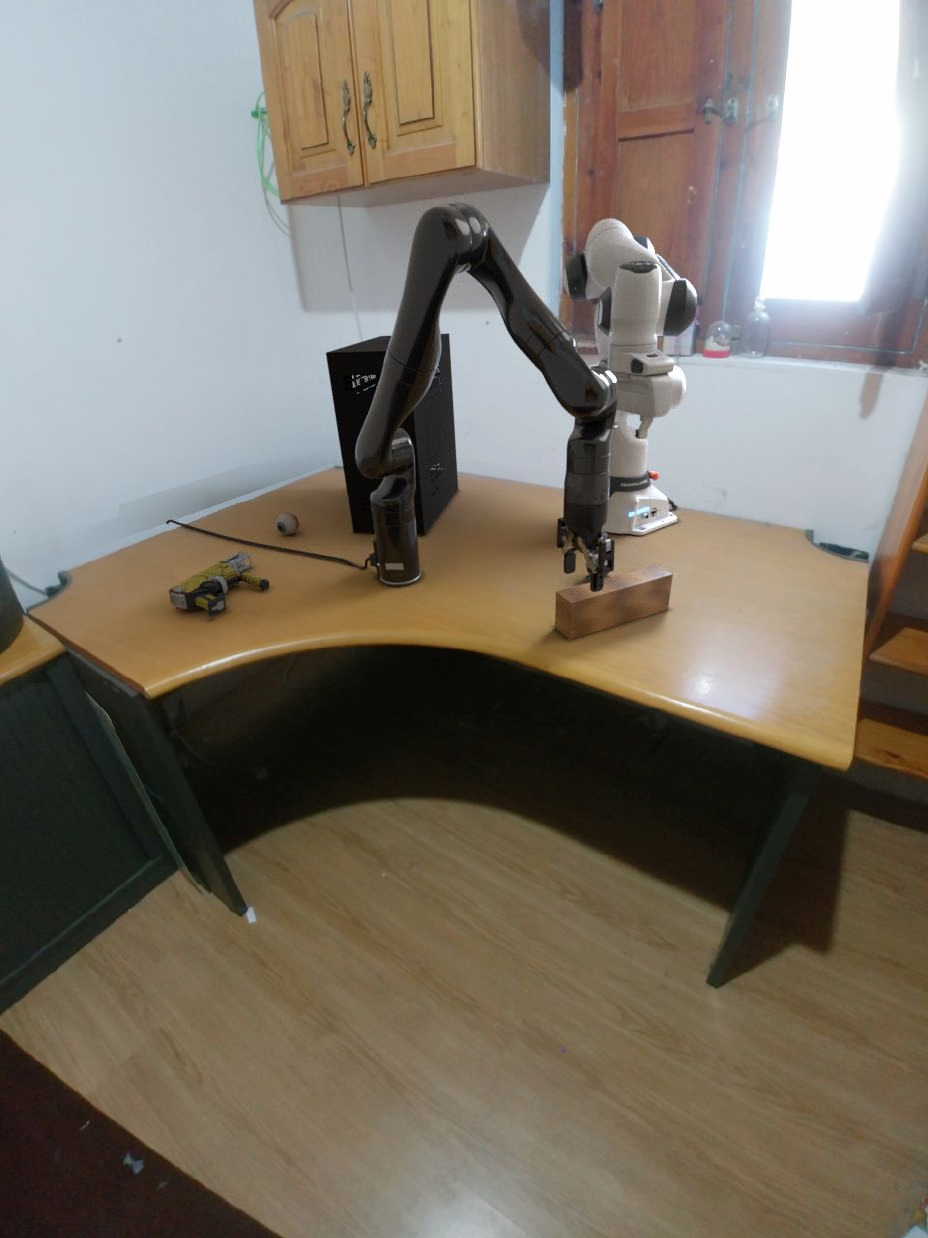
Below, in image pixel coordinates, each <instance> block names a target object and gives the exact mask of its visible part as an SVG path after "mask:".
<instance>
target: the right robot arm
mask: <svg viewBox="0 0 928 1238" xmlns="http://www.w3.org/2000/svg"><path fill="white" fill-rule="evenodd" d="M562 282H563V286H564V287H563V288H564V290H565V291H566V292H565V293H566V294H567V295H568V296H569V299H571V300H572V301H573V302H577V303H578V302H579V303H581V302H586V301H587V300H591V299H598V302H597V304H596V306H595V310H594V319H593V320H594V335H595V341H596V347H597V352H598V357H599V362H598V364H597V366H603V367H606V368H608V369H609V370H611V371H612V372H613V374H614V375H615V377H616V379H617V382H618V390H619V394H618V405H617V411H616V416H615V421H614V426H613V430H612V435H611V440H610V464H609V477H610V489H609V505H608V520H607V522H606V523H605V524H604V526H603V527H602V529H603V530H602V531H604V532H606V533H611V534H623V535H625V534H626V535H632V536H633V535H634V536H645V535H646V534H650V533H652V532H654V531H657V530H660V529H662V528H665V527H668V526H670V525H672V524H675V523H677V522H678V516H677V515H676V514H675V513H674V512H672V511H670V506H671V508H672V509H674V510H676V509H678V505H677V504H675V502H674V501H673V500H671V499H670V498H669V497H667V496H666V495H665V494H664V493H663V492H661V491H660V490H659V489H658V488H656V487H655V486H654V485H652V483H651V480H653V481H658V479H659V478H660V473H659V472H657V471H654V470H651V471H649V470H648V469H647V466H648V458H649V457H648V455H649V446H650V443H649V440H648V431H649V429H650V427H651V426H652V424H653V422H654V419H657V418H664V417H666V416H667V415H668V414H669V412H670V411H672V410H675V409H676V408H678V407H679V406H680V405H681V403H682V401H683V400H684V398H685V396H686V392H687V379H686V376H685V374H684V372H683V370H682V369H681V368H680V367H679V366H676V365H675V364H676V363H675V360H674V359H673V358H672V357H670V356H668V355H667V354H665V353H664V352H662V351H661V350H660V348H658V342H659V341H658V337H675V338H677V337H679V336H680V335H681V334H683V333H684V332H685V331H686V330H687V329H688V328H689V327H690V326H691V325H692V323H693V322H694V321H695V318H696V315H697V310H698V309H697V307H698V297H697V292H696V289H695V288H694V286H693V284H691V282H690V281H689V280H688V279H687V278H685V277H683V278H681V277H680V276H679V275H678V274H677V273H676V271H674V269H673V268H672V267H671V266H670V265H669V264H668V262H667V261H666V260H665V259H664V258H663V257H662V256H661V255H660V254H658V253H656V252H655V248H654V246H653V244H652V243H651V240H650V238H648V237H647V235H634V236H633V234H632V232H631V231H630V230H629V228H628V227H627V226H626V225H625V224H624V223H623V222H622V221H620V220H618V219H617V218H611V217H610V218H609V217H608V218H604V219H601V220H599V221H597V222H596V223H595V224H594V225H593V226H592V228H591V229H590V230H589V233H588V235H587V237H586V240H585V249H584V250H583V251H579V250H577V251H576V252H575V254H574V255H573V256H570V257H569V258H568V259H567V261H566V263H565V264H564V270H563V276H562ZM634 415H637V416H639V422H640V425H639V427H638V428H633V427H631V426H629V425H628V422H627V420H628V417H629V416H634Z"/></svg>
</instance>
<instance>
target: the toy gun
mask: <svg viewBox="0 0 928 1238" xmlns="http://www.w3.org/2000/svg"><path fill="white" fill-rule="evenodd" d="M248 559H249V563H248V564H247V563H245V561H247V560H248ZM251 562H252V561H251V555H250V554H249V553H248V552H246V551H245V552H244V553H243V551H238V552H237V553H234V554H232V555H231V556H229V557H227V558H225V559H224V560H220V561H218V562H216V563H215V564H213V565H211V566H209V567H207V568H206V569H204V570H202V571H200V572H198V573H196V574H195V575H192V576H191V577H189V578H187V579H186V580H183V581H181V582H180V583H178V584H176V585H174V586H173V587H170V588H169V589H168V594H169V599H170V603H171V605H172V606H173V607H174V608H175V610H179V611H184V610H187V611H189V610H195V609H199V608H202V609H205V610H206V611H208V616H209V617H214V616H216V615H218V614H220V613H223V611H225V610H227V603H226V597H225V595H226V594H227V593H228V591H229V588H231V587H233V586H236V585H238V584H239V583H241V582H242V583H245V584H247V585H250V586H252V587H255V588H258V589H260V590H261V591H266V590H268V589H269V588H270V581H269V579H267V578H262V577H260V576H257V575H254V574H251V573H249V572H247V571H246V572H244V571H245V570H246V569H248V568H251V567H252V563H251ZM242 572H243V573H242ZM240 573H242V574H241V575H240Z"/></svg>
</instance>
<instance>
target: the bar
mask: <svg viewBox="0 0 928 1238" xmlns="http://www.w3.org/2000/svg"><path fill="white" fill-rule="evenodd" d="M673 575H674V574H673V573H671V572H670V571H668V570H666V569H665V568H662V567H660V566H659V565H658V564H657V565H656V564H652V565H648V566H645V567H641V568H638V569H634V570H631V571H627V572H623V573H619V574H616V575H612V576H609V577H608V578H604V583H603V584H604V586H603V589H602V590H601V591H597V592H592V591H591V590H590V583H589V582H586V583H582V584H579V585H575V586H572V587H568V588H564V589H561V590H557V591H555V608H554V609H555V610H554V611H555V612H554V613H555V615H554V628H555V629H556V630H557V631H558V632H559V633H560V634H562V635H563V636H564V637H566V638H567V639H568V640H569V641H570V640H574V639H577V638H581V637H585V636H586V635H590V634H593V633H597V632H600V631H604V630H607V629H610V628H614V627H616V626H620V625H622V624H623V625H624V624H626V623H629V622H632V621H635V620H639V619H642V618H644V617H649V616H651V615H655V614H658V613H661V612H665V611H668V610H669V606H670V598H671V590H672V584H673Z"/></svg>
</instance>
